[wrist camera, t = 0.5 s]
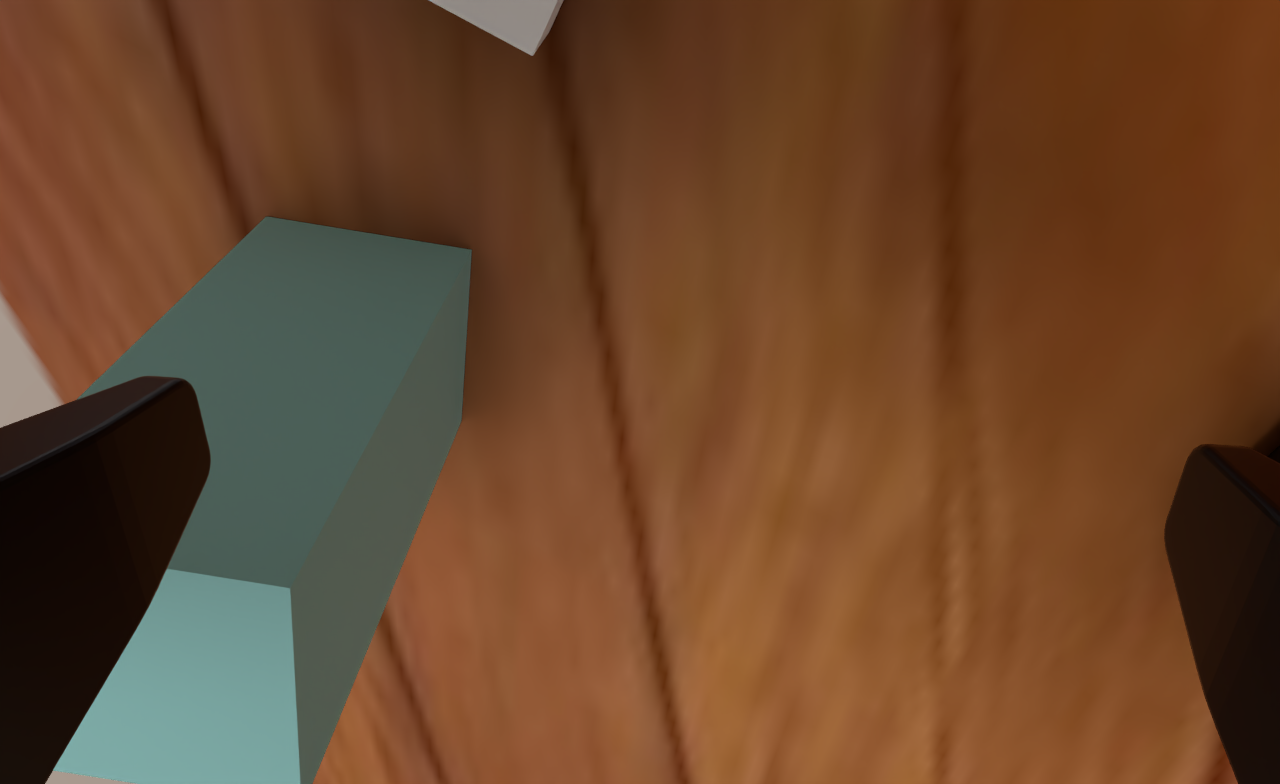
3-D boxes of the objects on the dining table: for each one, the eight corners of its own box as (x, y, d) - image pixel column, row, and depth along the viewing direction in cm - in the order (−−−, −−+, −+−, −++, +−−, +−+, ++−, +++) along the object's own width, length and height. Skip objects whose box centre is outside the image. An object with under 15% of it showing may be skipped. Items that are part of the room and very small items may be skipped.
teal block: (471, 249, 23) (290, 587, 13) (461, 420, 25) (301, 809, 16) (266, 216, 23) (-61, 532, 13) (275, 391, 25) (4, 763, 16)
